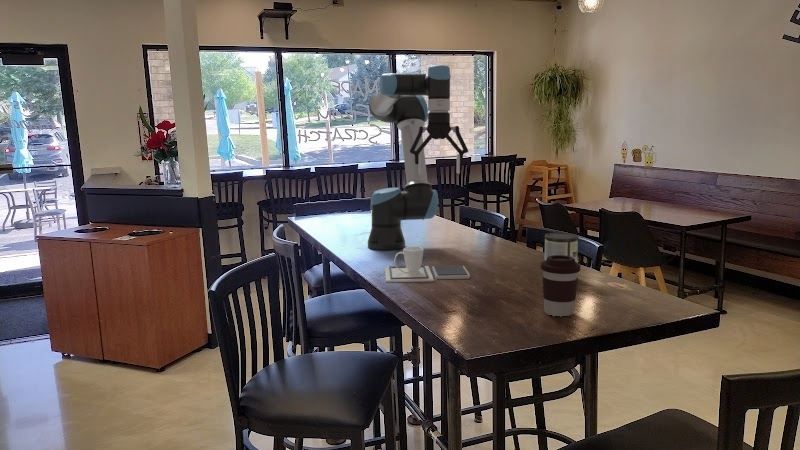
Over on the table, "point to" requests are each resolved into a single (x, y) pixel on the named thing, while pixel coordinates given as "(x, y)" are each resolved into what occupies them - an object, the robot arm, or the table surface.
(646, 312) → the table surface
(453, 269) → the ink pad
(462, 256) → the table surface
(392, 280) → the board
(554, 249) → the coffee can
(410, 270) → the cup
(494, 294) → the table surface
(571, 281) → the coffee cup
